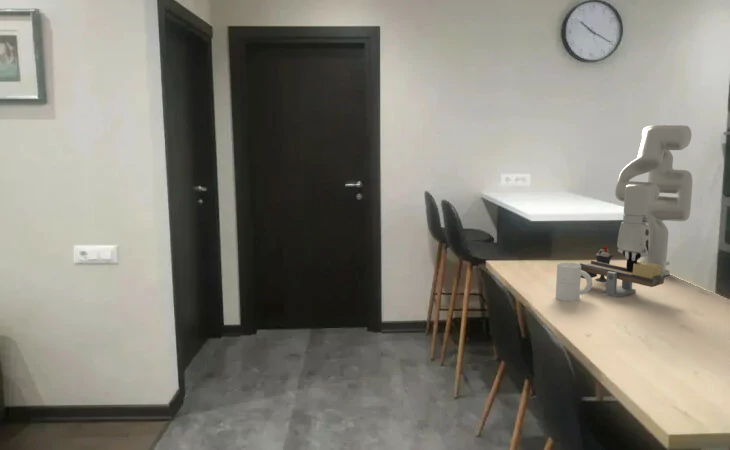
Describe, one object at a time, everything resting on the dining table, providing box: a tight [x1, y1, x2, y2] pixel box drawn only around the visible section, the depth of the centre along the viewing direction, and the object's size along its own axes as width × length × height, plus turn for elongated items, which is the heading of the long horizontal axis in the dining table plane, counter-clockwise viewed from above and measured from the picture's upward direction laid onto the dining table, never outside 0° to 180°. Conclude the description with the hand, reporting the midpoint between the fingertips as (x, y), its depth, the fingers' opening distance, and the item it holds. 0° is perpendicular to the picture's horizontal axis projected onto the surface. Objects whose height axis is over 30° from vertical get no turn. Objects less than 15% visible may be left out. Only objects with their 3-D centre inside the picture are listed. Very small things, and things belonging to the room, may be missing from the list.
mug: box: [555, 262, 593, 302], centre depth 217 cm, size 8×12×12 cm
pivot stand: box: [601, 266, 637, 299], centre depth 224 cm, size 12×6×8 cm, turn 128°
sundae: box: [594, 243, 614, 283], centre depth 242 cm, size 7×7×15 cm
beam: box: [579, 260, 665, 288], centre depth 224 cm, size 8×28×6 cm, turn 38°
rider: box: [632, 260, 662, 279], centre depth 215 cm, size 6×7×5 cm
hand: (631, 270), depth 220 cm, fingers closed
